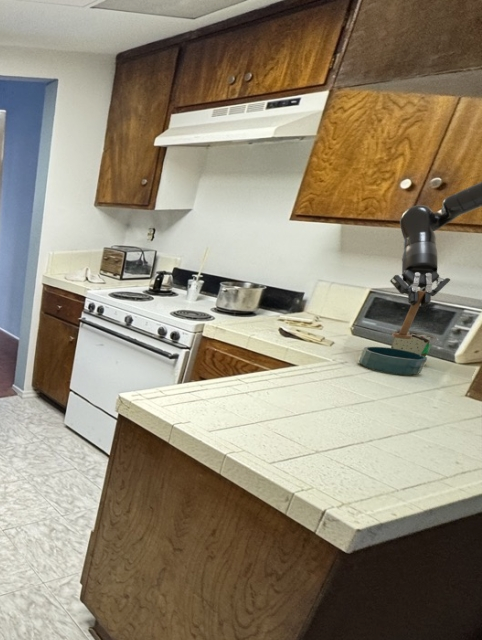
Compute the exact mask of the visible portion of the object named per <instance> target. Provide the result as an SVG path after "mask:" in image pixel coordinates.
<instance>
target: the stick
mask: <svg viewBox="0 0 482 640" xmlns="http://www.w3.org/2000/svg"><path fill="white" fill-rule="evenodd" d="M416 292H418V302H417V303H416V304H415V305H410V307H409V309H408V312H407V313H406V316H405V319H404V321H403V323H402V325H401V327H400V332H399V333H394V332H393V333H392V334H391V336H392V337H393V338H394V337H396V338H401V339H411V338H412V335H409V334H407V333H408V331H409V330H410V328H411V326H412V323H413V322H414V319H415V317H416V314H417V313H418V310H419V309H420V306H421V301H422V299H423V297H424V295H425V292H426V291H420V290H417V291H416Z"/></svg>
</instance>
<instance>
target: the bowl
mask: <svg viewBox="0 0 482 640" xmlns="http://www.w3.org/2000/svg"><path fill="white" fill-rule="evenodd" d="M427 360H428V357H427V356H426V357H425V356H423V355H420V354H417V353H414V352H409V351H405V350H400V349H394V348H391V347H387V346H386V347H385V346H364V348H363V350H362V353H361V355H360V357H359V360H358V363H359V364H361V366H362V367H364V368H366V369H369V370H373V371H376V372H380V373H385V374H390V375H396V376H397V375H398V376H414V375H418V374H421V373H422V370H423V368H424V366H425V364H426V363H427Z"/></svg>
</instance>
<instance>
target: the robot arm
mask: <svg viewBox="0 0 482 640" xmlns="http://www.w3.org/2000/svg"><path fill="white" fill-rule="evenodd" d="M479 208H482V181H480V182H478V183H476V184H473V185H470V186H469V187H466V188H463V189H462V190H460V191H458V192H456V193H453V194H451V195H449V196H447V197H445V198H444V199H443V200H442V207H441V208H440V209H439V210H437V211H435V212H434V211H433V210H432V209H431V207H429V206H427V205H423V204H417V205H412V206H411V207H409V208H407V209H405V211H404V212H403V213H402V214H401V216H400V218H399V226H400V230H401V234H402V237H403V252H402V258H401V274H400V275H399V274H395V275H393V277H391V279H390V280H389V282H390V283H391V285H393V287H394V288H395V289H396V290H397V291H398V292H399V294H401V295H405V294H406V295H407V302H408V304H410V306H411V305H415V304H416V303H417V302H418V292H417V291H418V288H419V291H426V292H425V295H424V297H423V299H422V301H421V304H420V306H421V307H426V306H427V305H428V304H430V303H431V301H432V297H435V296H436V295H437V294H438V293H439V292H440V291H441V290H442V289H444V288H445V286H446V285H447V284H448V283H449V282H451V279H450V278H449V277H446V278H443V277H441V276H440V274H439V273H438V248H437V237H436V233H435V231H437V230H439V229H441V228H442V227H444V226H446V225H447V224H449V223H451V222H452V221H454V220H455V219H457V218H458V217H460V216H462V215H464V214H467V213H470V212H472V211H474V210H477V209H479ZM434 282H436V283H435V286H436V287H435V288H434V289H433V288H432V286H433V284H434Z"/></svg>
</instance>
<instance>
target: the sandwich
mask: <svg viewBox="0 0 482 640" xmlns="http://www.w3.org/2000/svg"><path fill="white" fill-rule="evenodd" d="M400 330H401V328H400V329H396V330H395V331H394V332H393V333H399V332H400ZM407 334H409V335H412V338H411V339H401V338H396V337H393V340H392V343H391V346H390V348H394V349H400V350H405V351H409V352H414V353H417V354H420V355H423V356H425V357H427V355H428V353H429V352H430V350H431V348H432V347H433V346H434V345H437V344H438V336H437V335H435V334H432V333H428V332H424V331H417V330H412V329H411V330H410V329H409V331H408V333H407Z"/></svg>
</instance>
